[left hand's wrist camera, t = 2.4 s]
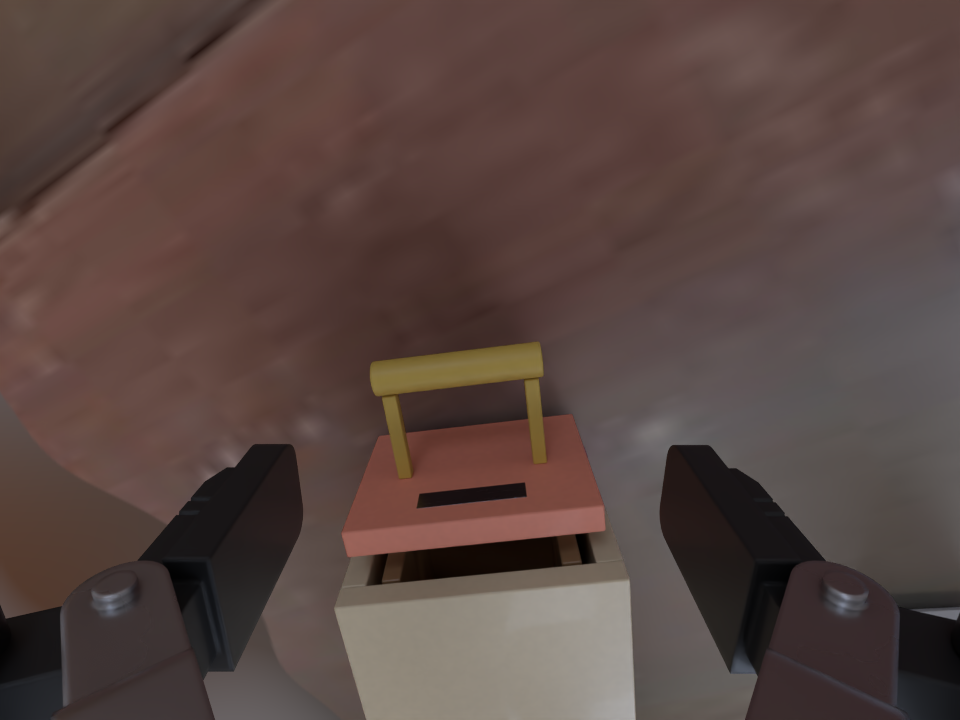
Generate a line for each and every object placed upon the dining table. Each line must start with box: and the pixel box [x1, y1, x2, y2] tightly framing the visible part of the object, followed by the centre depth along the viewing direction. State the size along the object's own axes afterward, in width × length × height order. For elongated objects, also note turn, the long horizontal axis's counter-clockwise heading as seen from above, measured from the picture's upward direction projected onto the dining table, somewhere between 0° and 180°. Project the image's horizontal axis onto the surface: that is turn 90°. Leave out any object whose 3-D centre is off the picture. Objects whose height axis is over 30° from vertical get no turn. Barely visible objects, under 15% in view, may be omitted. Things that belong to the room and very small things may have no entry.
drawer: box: [341, 342, 606, 584], centre depth 26 cm, size 22×10×8 cm, turn 7°
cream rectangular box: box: [334, 448, 636, 720], centre depth 28 cm, size 18×11×10 cm, turn 7°
